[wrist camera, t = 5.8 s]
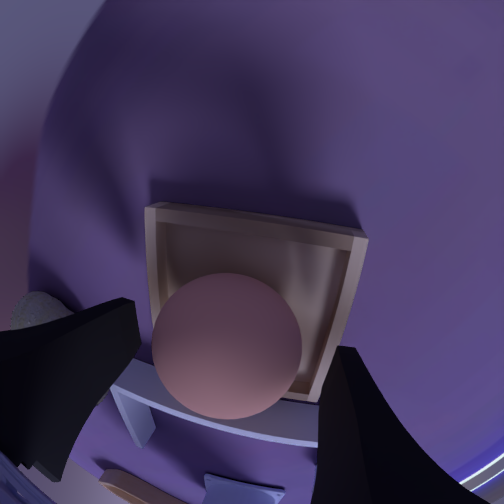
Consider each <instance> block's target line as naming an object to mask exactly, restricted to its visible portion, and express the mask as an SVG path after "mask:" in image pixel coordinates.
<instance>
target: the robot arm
mask: <svg viewBox="0 0 504 504" xmlns="http://www.w3.org/2000/svg"><path fill="white" fill-rule="evenodd" d="M140 345H141V339H140V333H139V327H138V321H137V315H136V308H135V301H132V300H129V299H126V298H123V297H121V298H117V299H114V300H111V301H108V302H105V303H102V304H99V305H96V306H94V307H91V308H88V309H85V310H83V311H80V312H77V313H74V314H72V315H69V316H66V317H62V318H59V319H56V320H53V321H50V322H47V323H43V324H40V325H36V326H31V327H27V328H22V329H16V330H8V331H1V332H0V504H57V503H55V502H54V501H52V499H50V498H49V497H48V496H47V495H46V494H44V493H43V492H42V491H41V490H40V489H39V488H38V487H37V486H35V485H34V484H33V483H32V482H31V481H30V480H29V479H28V478H27V477H26V476H25V475H24V474H23V473H22V472H21V471H20V470H19V469H18V468H17V467H18V466H19V465H20V463H22V464H23V465H24V466H25V467H26V468H27V469H30V468H31V467H32V465H33V466H34V467H35V468H36V469H38V470H39V471H40V472H41V473H42V474H44V475H45V476H46V477H47V478H49V479H50V480H51V481H52V482H59V481H61V478H62V474H63V471H64V468H65V465H66V462H67V459H68V457H69V454H70V452H71V450H72V448H73V445H74V443H75V441H76V439H77V437H78V435H79V433H80V431H81V429H82V427H83V425H84V424H85V422H86V420H87V419H88V417H89V415H90V414H91V412H92V410H93V409H94V407H95V406H96V405H97V403H98V402H99V401H100V399H101V398H102V397H103V396H104V394H105V393H106V392H107V391H108V390H109V388H110V387H111V386H112V385H113V383H114V382H115V381H116V380H117V379H118V377H119V376H120V375H121V374H122V372H123V371H124V370H125V369H126V367H127V366H128V365H129V364H130V362H131V360H132V359H133V357H134V356H135V354H136V352H137V350H138V349H139V347H140ZM204 481H205V487H206V492H207V493H206V495H205V498H204V500H203V502H202V504H278V502H279V501H280V500H281V499H282V497H283V496H284V495H285V492H286V491H285V490H282V489H275V488H269V487H263V486H257V485H252V484H247V483H242V482H238V481H234V480H230V479H226V478H222V477H218V476H215V475H211V474H205V475H204ZM17 491H18V492H19V493H21V495H22V496H23V497H22V496H21V495H19V494H18V493H17ZM311 504H490V503H488V502H487V501H485V500H483V499H482V498H480V497H479V496H477V495H475V494H474V493H472V492H471V491H469V490H467V489H466V488H465V487H463V486H462V485H461V484H459V483H458V482H457V481H456V480H454V479H453V478H452V477H451V476H449V475H448V474H447V473H446V472H445V471H444V470H443V469H442V468H440V467H439V466H438V465H437V464H436V463H435V462H434V461H433V460H432V459H431V458H430V457H429V456H428V455H427V454H426V453H425V451H424V450H423V449H422V448H421V447H420V446H419V445H418V444H417V442H416V441H415V440H414V439H413V438H412V436H411V435H410V434H409V433H408V431H407V430H406V429H405V428H404V426H403V425H402V424H401V422H400V421H399V420H398V418H397V417H396V415H395V414H394V412H393V411H392V409H391V408H390V406H389V405H388V403H387V402H386V400H385V398H384V397H383V395H382V393H381V392H380V390H379V389H378V387H377V385H376V384H375V382H374V380H373V378H372V377H371V375H370V373H369V371H368V370H367V368H366V366H365V364H364V362H363V360H362V359H361V357H360V355H359V353H358V352H357V350H356V348H354V347H346V346H338V345H337V347H336V350H335V353H334V356H333V359H332V361H331V364H330V367H329V369H328V372H327V375H326V377H325V380H324V382H323V385H322V388H321V396H320V404H319V412H318V451H317V470H316V479H315V485H314V490H313V495H312V500H311Z"/></svg>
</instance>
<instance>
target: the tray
mask: <svg viewBox="0 0 504 504" xmlns="http://www.w3.org/2000/svg"><path fill="white" fill-rule="evenodd" d="M145 241H146V260H147V274H148V286H149V297H150V306H151V315H152V323H153V329H154V325H155V321H156V319H157V317H158V315H159V313H160V311H161V309H162V307H163V306H164V304H165V303H166V302H167V300H168V299H169V298H170V297H171V296H172V295H173V294H174V293H175V292H176V291H177V290H178V289H179V288H181V287H182V286H184V285H185V284H187V283H189V282H191V281H193V280H195V279H197V278H199V277H203V276H206V275H210V274H217V273H234V274H241V275H245V276H249V277H252V278H254V279H257V280H259V281H261V282H263V283H265V284H266V285H268V286H269V287H271V288H272V289H273V290H275V291H276V292H277V293H278V294H279V295H280V296H281V297H282V298H283V299H284V300H285V301H286V302H287V304H288V305H289V307H290V308H291V310H292V312H293V313H294V315H295V317H296V319H297V322H298V325H299V328H300V332H301V338H302V356H301V362H300V367H299V370H298V372H297V375H296V377H295V379H294V381H293V383H292V385H291V386H290V388H289V389H288V390H287V392H286V393H285V394H284V395H283V396H282V397H283V398H289V399H296V400H302V401H309V402H317V401H318V399H319V396H320V394H321V388H322V385H323V382H324V380H325V377H326V375H327V372H328V369H329V367H330V364H331V361H332V359H333V356H334V353H335V350H336V347H337V345H338V346H339V344H340V341H341V338H342V335H343V332H344V329H345V326H346V323H347V320H348V316H349V313H350V310H351V307H352V303H353V300H354V296H355V293H356V289H357V285H358V282H359V278H360V274H361V270H362V266H363V262H364V258H365V254H366V249H367V245H368V241H369V239H368V237H367V235H366V234H365V232H364V231H363V230H362V229H357V228H351V227H345V226H339V225H334V224H328V223H322V222H315V221H309V220H303V219H296V218H290V217H283V216H276V215H269V214H262V213H255V212H248V211H240V210H232V209H224V208H216V207H208V206H199V205H190V204H181V203H171V202H158V203H155V204H152V205H149V206H146V207H145Z"/></svg>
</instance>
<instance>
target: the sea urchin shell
mask: <svg viewBox="0 0 504 504" xmlns="http://www.w3.org/2000/svg"><path fill="white" fill-rule="evenodd" d="M72 314H74V313H73V312H71V311H70V310H69V309H67V308H66V307H65V306H64V304H62V302H61V301H59V300H58V299H56V298H54V297H52V296H50V295H49V294H48V293H45V292H40V291H36V292H35V291H32V292H30V293H28V294H26V295H25V296H23V298H22V299H21V300H20V301H19V302H18V304H17V305H16V306H15V309H14V311H13V312H12V318H11V320H12V321H11V326H10V327H11V330H16V329H22V328H27V327H31V326H36V325H40V324H43V323H47V322H50V321H53V320H56V319H59V318H62V317H66V316H69V315H72ZM108 391H109V390H108ZM108 391H107V392H108ZM107 392H106V393H105V394H104V396H103V397H102V398H101V399H100V401H99V402H98V403H97V405H98V404H99V403H100V402H102V401H103V399H105V396H106V395H107Z"/></svg>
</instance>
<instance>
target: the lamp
mask: <svg viewBox="0 0 504 504" xmlns="http://www.w3.org/2000/svg"><path fill="white" fill-rule="evenodd" d="M98 482H99V483H100V484H101V485H102V486H103V487H105V488H106V489H107V490H109V491H110V492H112V493H114V494H115V495H117V496H118V497H120V498H122V499H123V500H125V501H127V502H128V503H130V504H187V503H185V502H183V501H181V500H179V499H176V498H174V497H172V496H171V495H169V494H167V493H165V492H163V491H161V490H159V489H157V488H156V487H154V486H152V485H150V484H148V483H147V482H145V481H143V480H141V479H139V478H137V477H135V476H133V475H131V474H129V473H126V472H124V471H121V470H118V469H106V470H105V472H104V473H103V475H102V476H101V478H100V479H99V481H98Z"/></svg>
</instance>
